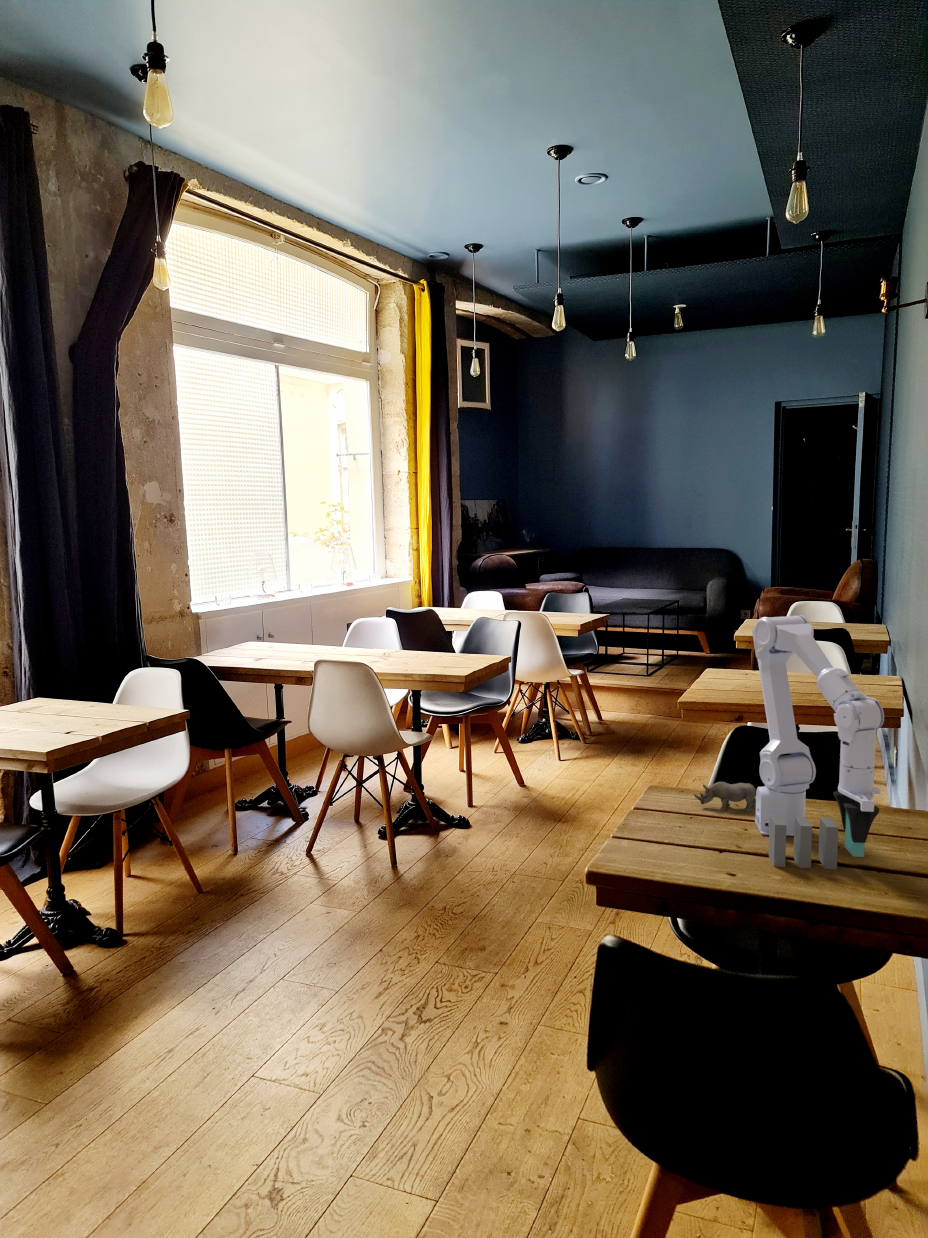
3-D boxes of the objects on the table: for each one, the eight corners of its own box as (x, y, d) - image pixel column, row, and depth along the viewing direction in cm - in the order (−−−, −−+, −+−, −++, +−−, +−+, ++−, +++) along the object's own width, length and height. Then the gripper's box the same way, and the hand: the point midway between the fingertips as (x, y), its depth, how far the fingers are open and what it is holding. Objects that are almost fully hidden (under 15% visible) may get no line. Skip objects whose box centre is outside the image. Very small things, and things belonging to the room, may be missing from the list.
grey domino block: (825, 869, 156) (826, 827, 155) (818, 858, 161) (819, 817, 160) (836, 869, 156) (838, 827, 155) (829, 858, 161) (831, 817, 160)
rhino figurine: (692, 804, 193) (693, 778, 192) (756, 806, 190) (757, 780, 189) (694, 810, 189) (694, 783, 188) (759, 813, 186) (759, 786, 185)
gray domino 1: (773, 866, 158) (775, 825, 157) (768, 856, 163) (769, 815, 162) (785, 867, 158) (786, 825, 157) (779, 856, 162) (780, 816, 161)
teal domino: (852, 856, 155) (853, 813, 154) (844, 846, 160) (846, 804, 159) (863, 856, 155) (865, 814, 154) (855, 846, 160) (857, 805, 159)
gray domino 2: (799, 868, 157) (800, 826, 156) (793, 857, 162) (794, 816, 161) (810, 868, 157) (812, 826, 156) (804, 857, 162) (805, 817, 161)
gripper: (893, 777, 148) (890, 852, 150) (868, 754, 162) (865, 823, 164) (850, 776, 149) (847, 850, 151) (829, 753, 163) (826, 822, 165)
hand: (854, 836), depth 157 cm, fingers closed on teal domino, 5 cm apart
